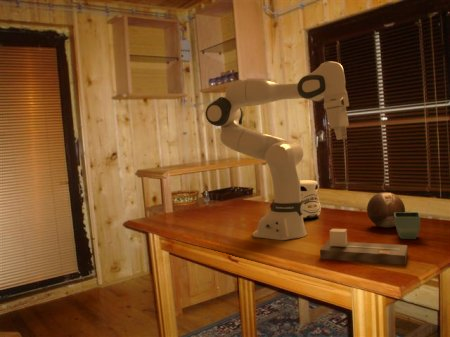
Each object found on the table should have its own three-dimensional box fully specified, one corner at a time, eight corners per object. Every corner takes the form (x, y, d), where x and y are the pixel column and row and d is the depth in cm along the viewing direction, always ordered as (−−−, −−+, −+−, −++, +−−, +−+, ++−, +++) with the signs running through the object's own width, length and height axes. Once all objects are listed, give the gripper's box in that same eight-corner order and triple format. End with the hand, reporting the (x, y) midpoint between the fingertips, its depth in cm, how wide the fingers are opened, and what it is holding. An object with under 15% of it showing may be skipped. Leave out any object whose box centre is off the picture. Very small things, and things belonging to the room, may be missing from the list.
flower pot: (395, 240, 153) (394, 216, 152) (394, 234, 161) (393, 212, 160) (421, 241, 149) (420, 216, 149) (419, 235, 158) (418, 212, 157)
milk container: (315, 222, 192) (313, 184, 191) (280, 220, 201) (278, 184, 199) (325, 215, 207) (323, 179, 206) (293, 213, 216) (291, 180, 214)
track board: (320, 258, 136) (320, 249, 136) (328, 249, 147) (328, 240, 147) (405, 265, 124) (405, 255, 124) (407, 254, 135) (407, 244, 135)
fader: (330, 245, 138) (329, 231, 138) (332, 242, 142) (332, 228, 142) (345, 246, 136) (344, 231, 136) (347, 243, 140) (346, 229, 139)
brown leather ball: (379, 232, 165) (377, 196, 164) (361, 225, 180) (359, 191, 179) (413, 229, 167) (412, 193, 166) (392, 222, 182) (391, 188, 181)
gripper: (334, 106, 168) (338, 139, 168) (322, 104, 150) (327, 141, 150) (349, 103, 165) (354, 137, 165) (339, 100, 147) (345, 138, 147)
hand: (341, 139), depth 158 cm, fingers open, 8 cm apart
